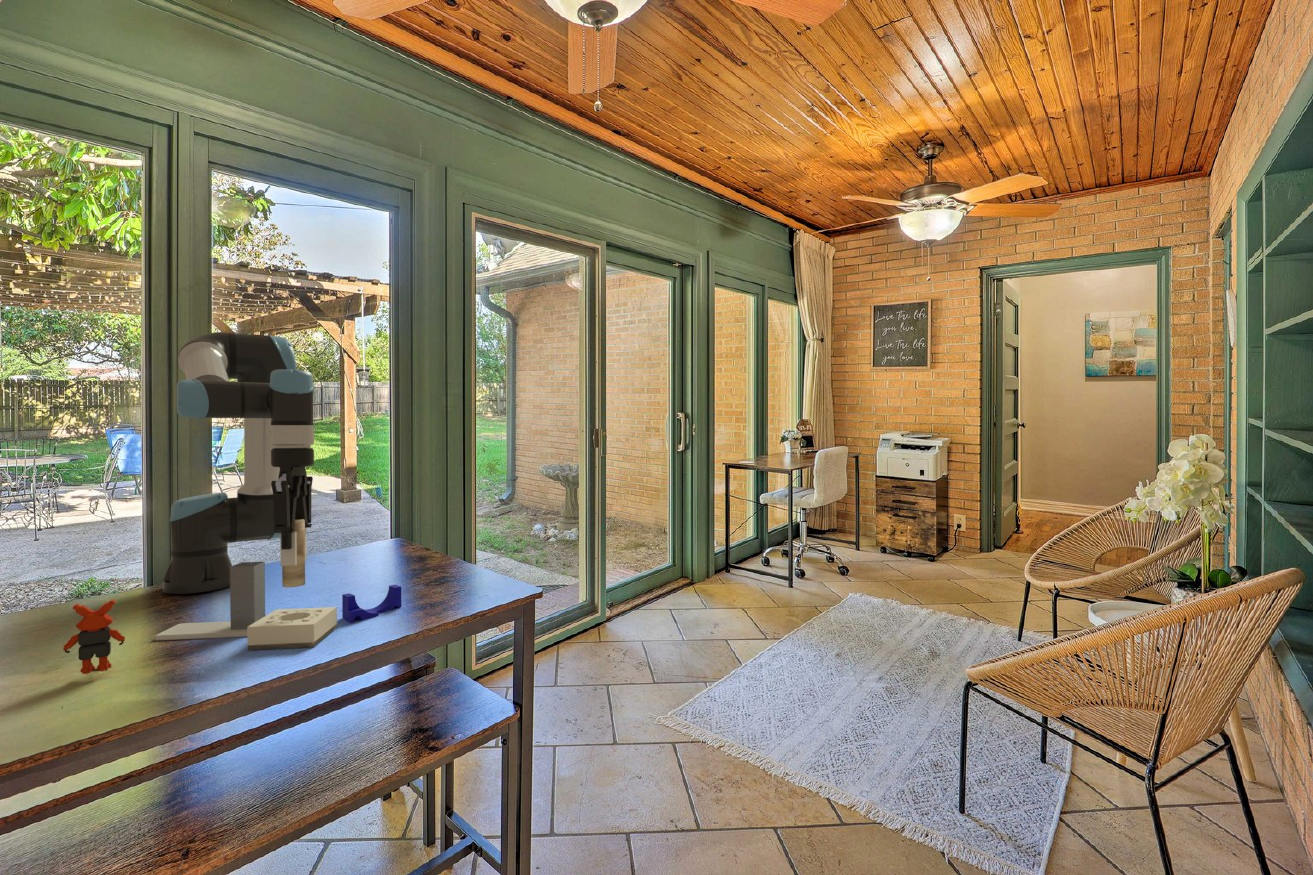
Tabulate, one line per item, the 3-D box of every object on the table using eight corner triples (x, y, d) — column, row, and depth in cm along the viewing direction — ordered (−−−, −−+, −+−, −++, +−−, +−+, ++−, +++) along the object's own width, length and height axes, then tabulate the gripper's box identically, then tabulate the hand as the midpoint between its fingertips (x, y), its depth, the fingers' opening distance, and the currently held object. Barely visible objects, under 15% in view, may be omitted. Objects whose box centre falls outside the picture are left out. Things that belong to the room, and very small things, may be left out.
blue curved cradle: (351, 625, 136) (350, 598, 136) (342, 621, 139) (342, 594, 139) (404, 613, 145) (404, 587, 145) (395, 609, 148) (395, 584, 148)
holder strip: (179, 628, 134) (179, 623, 134) (280, 623, 137) (280, 619, 137) (155, 640, 126) (155, 635, 126) (262, 635, 129) (262, 630, 129)
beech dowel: (287, 583, 128) (287, 519, 128) (308, 582, 129) (307, 518, 129) (278, 587, 124) (277, 522, 124) (300, 586, 125) (299, 521, 125)
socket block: (276, 630, 132) (276, 609, 132) (337, 628, 134) (336, 606, 134) (247, 650, 120) (247, 626, 120) (314, 647, 122) (313, 624, 122)
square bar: (242, 622, 134) (241, 562, 134) (265, 621, 135) (264, 561, 135) (230, 629, 130) (229, 566, 130) (254, 628, 130) (253, 566, 130)
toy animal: (127, 659, 116) (126, 594, 116) (124, 668, 111) (123, 600, 111) (68, 668, 111) (67, 601, 111) (62, 678, 107) (61, 608, 107)
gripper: (291, 446, 134) (292, 555, 135) (251, 448, 118) (252, 572, 118) (328, 445, 135) (329, 554, 136) (294, 447, 119) (295, 571, 119)
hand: (294, 562), depth 127 cm, fingers closed on beech dowel, 4 cm apart
